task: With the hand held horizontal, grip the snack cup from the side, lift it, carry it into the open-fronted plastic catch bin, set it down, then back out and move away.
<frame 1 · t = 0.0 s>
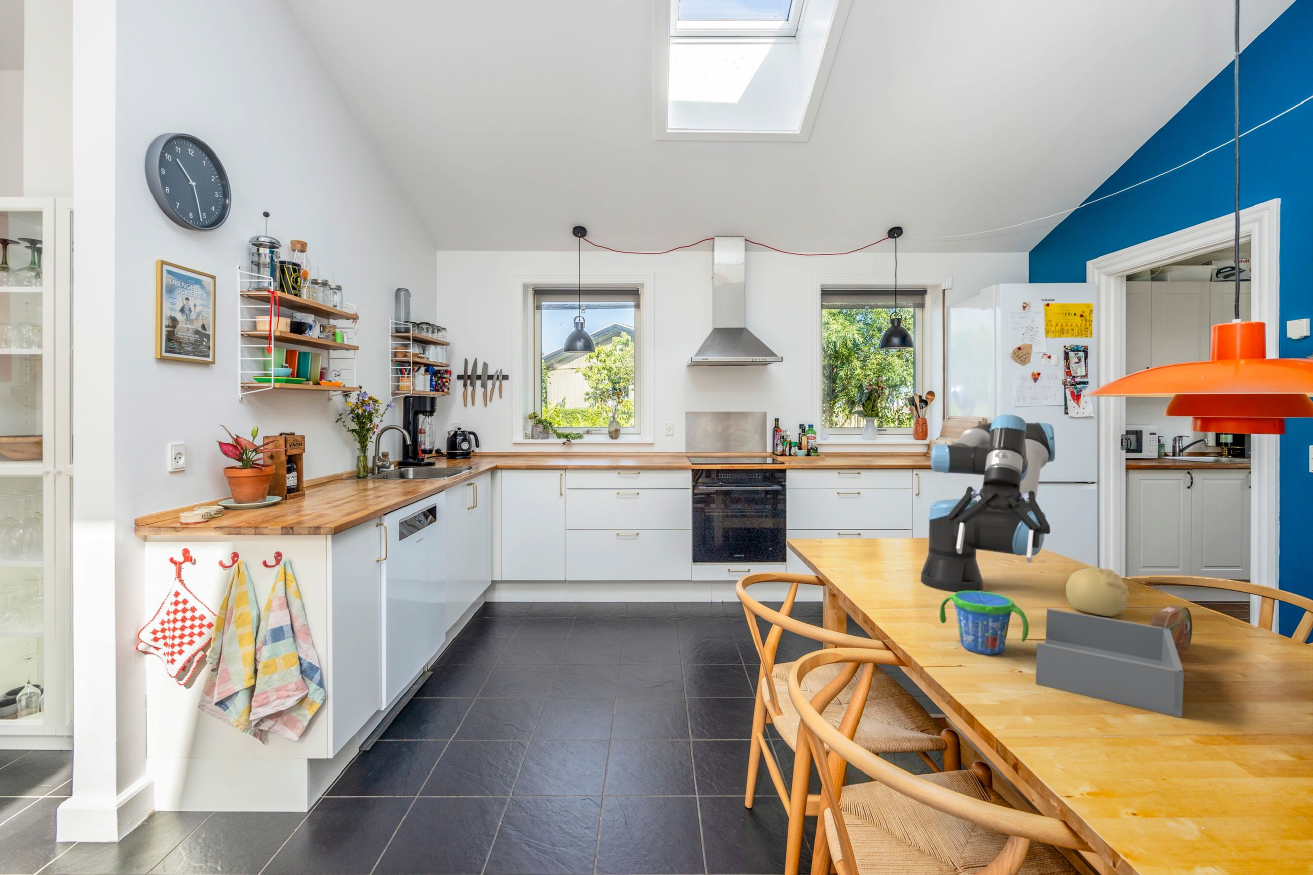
hand: (992, 555, 132), 15 cm above the table, tool tilted 35°, fingers open, 13 cm apart
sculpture: (1095, 613, 142), on the table
snack cup: (981, 649, 119), on the table
tin: (1170, 652, 119), on the table
catch bin: (1107, 675, 107), on the table
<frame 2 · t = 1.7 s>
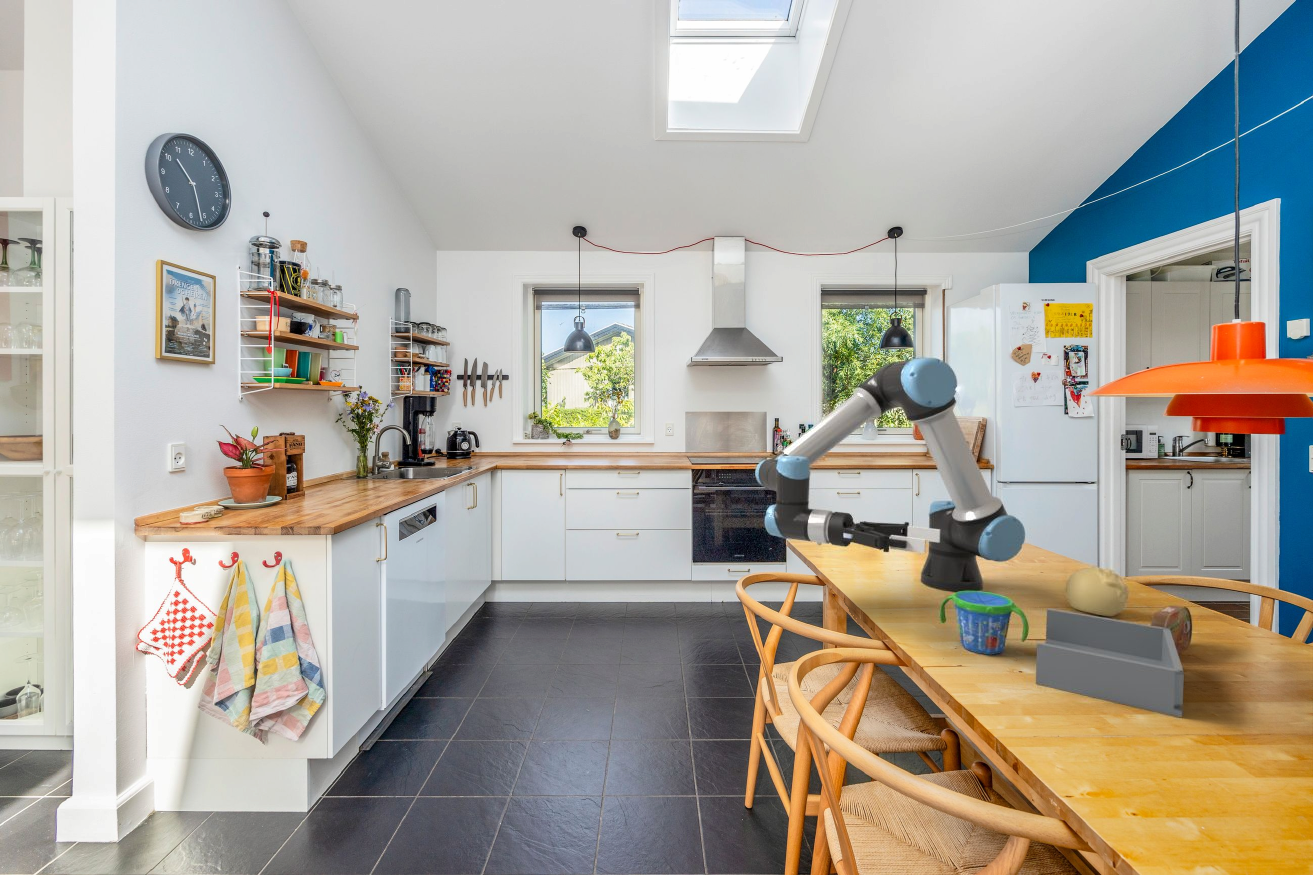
hand: (933, 541, 124), 20 cm above the table, tool horizontal, fingers open, 13 cm apart
nothing on the table moved.
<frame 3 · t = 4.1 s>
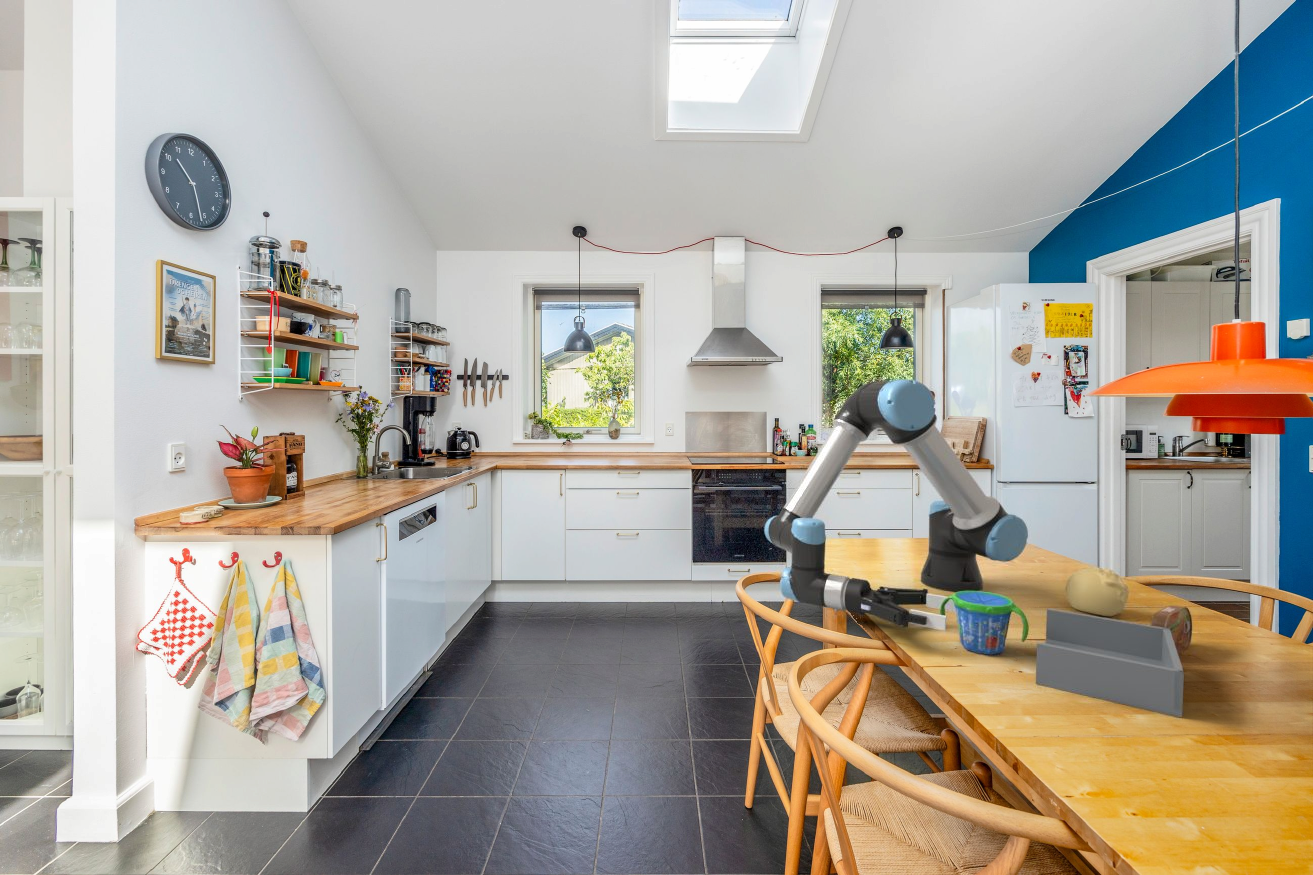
hand: (953, 614, 121), 6 cm above the table, tool horizontal, fingers open, 13 cm apart
nothing on the table moved.
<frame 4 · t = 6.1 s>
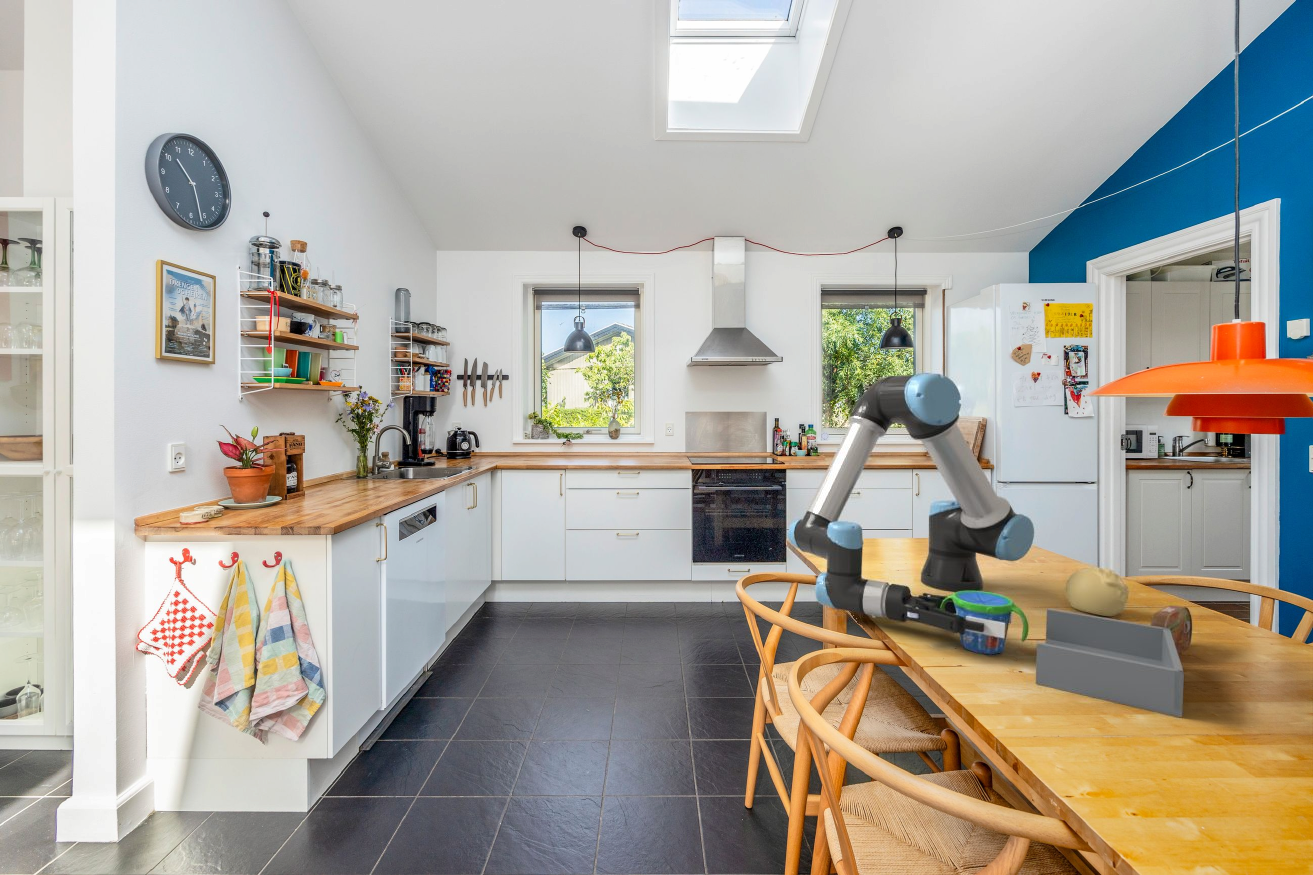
hand: (1008, 623, 116), 6 cm above the table, tool horizontal, fingers closed on snack cup, 9 cm apart
snack cup: (981, 649, 119), on the table, touching gripper
everything else where it was.
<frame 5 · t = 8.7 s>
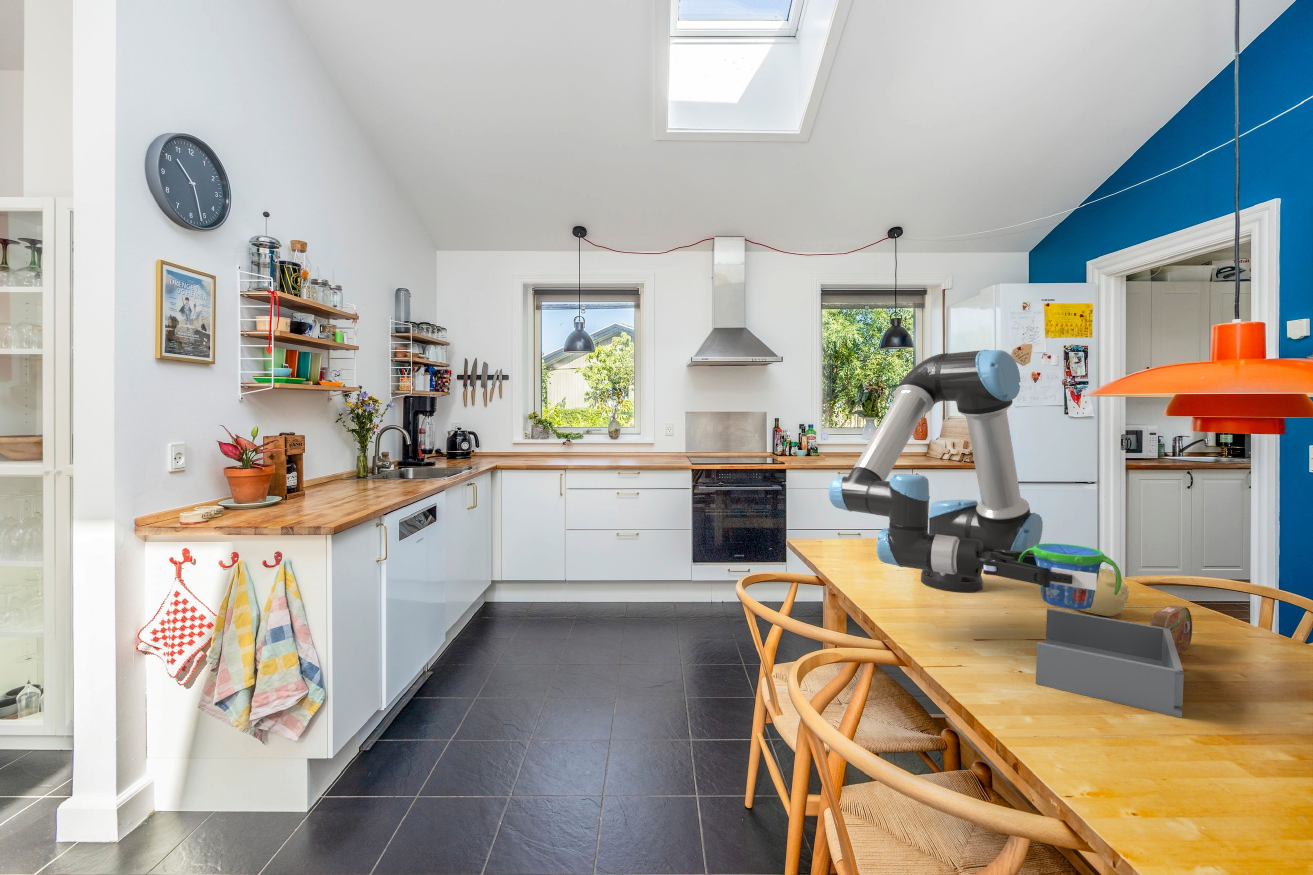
hand: (1097, 575, 106), 18 cm above the table, tool horizontal, fingers closed on snack cup, 9 cm apart
snack cup: (1065, 605, 109), point 12 cm above the table, touching gripper
everything else where it was.
when the fingers open (8 cm above the table, at t = 11.4 s): snack cup drops 1 cm, resting on catch bin.
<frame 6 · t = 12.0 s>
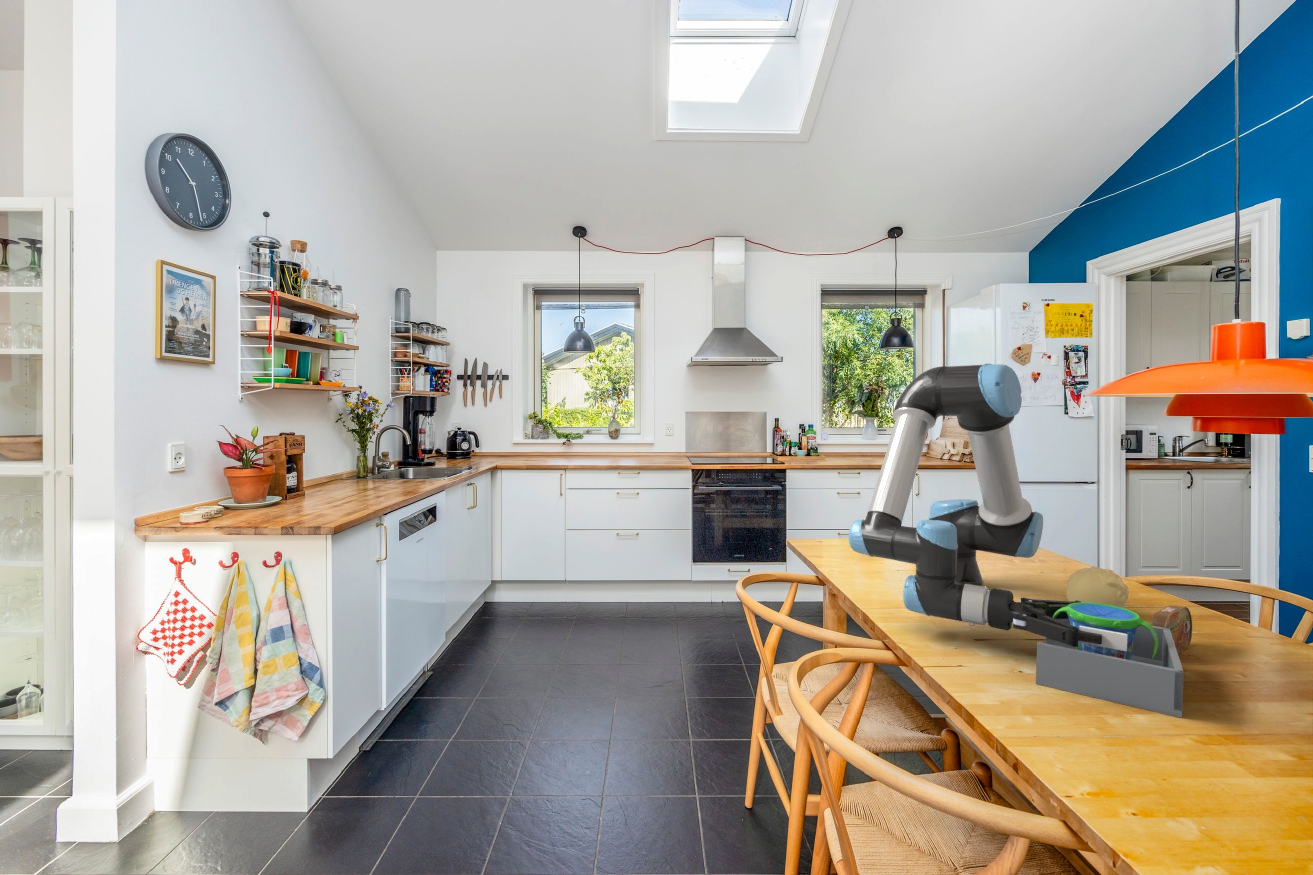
hand: (1126, 631, 105), 8 cm above the table, tool horizontal, fingers open, 13 cm apart
snack cup: (1101, 667, 108), point 1 cm above the table, touching catch bin
everything else where it was.
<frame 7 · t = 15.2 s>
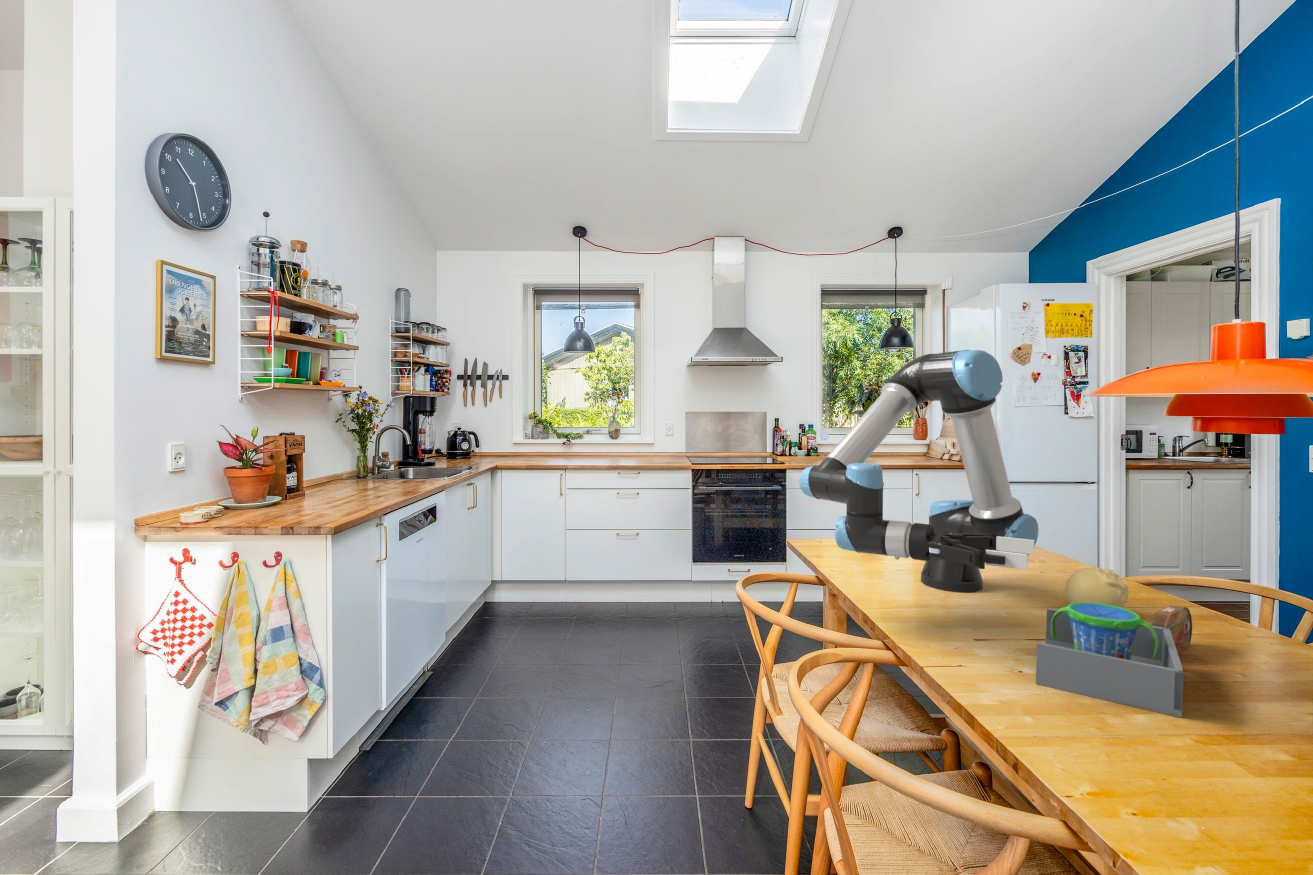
hand: (1031, 554, 113), 20 cm above the table, tool horizontal, fingers open, 13 cm apart
nothing on the table moved.
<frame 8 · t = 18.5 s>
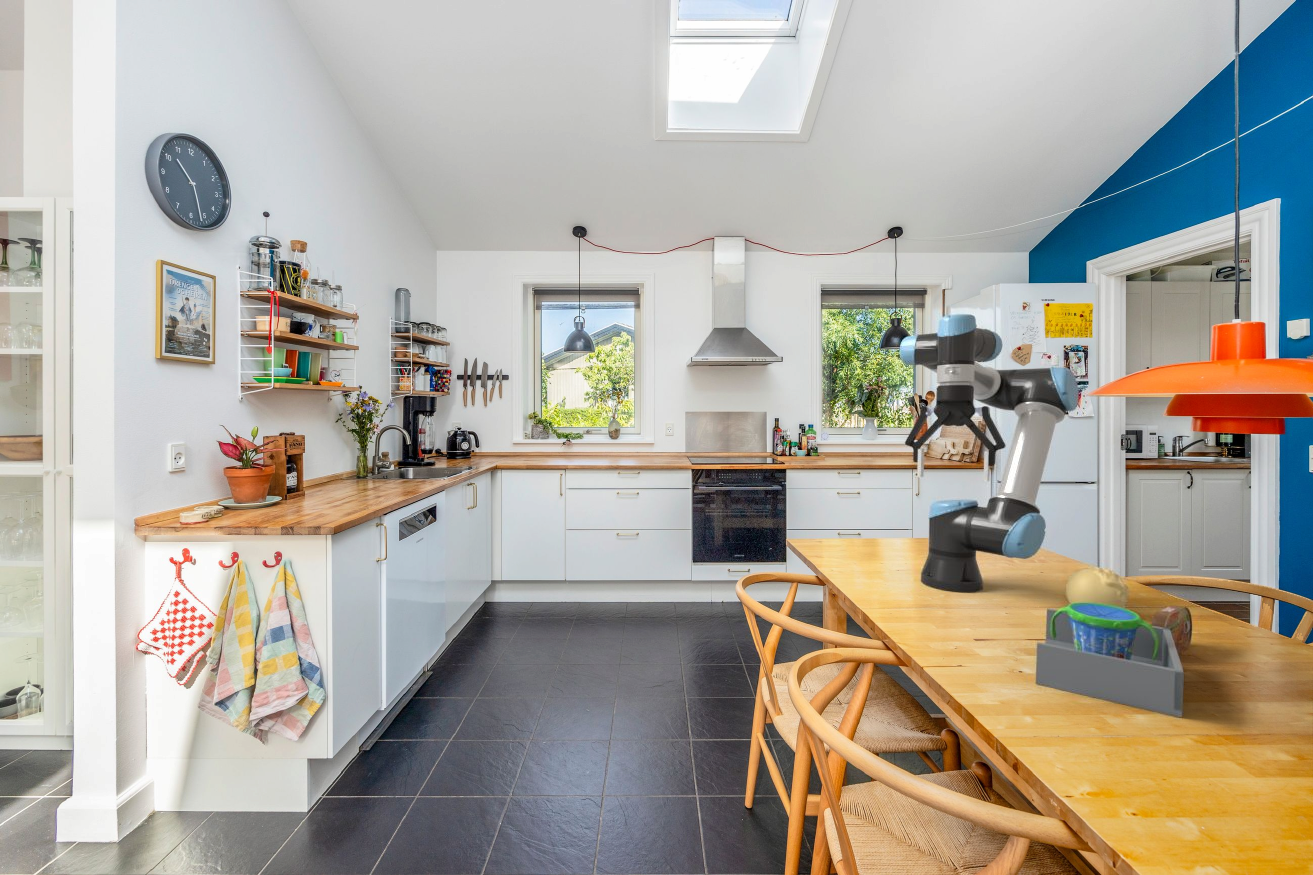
hand: (952, 479, 136), 32 cm above the table, tool pointing down, fingers open, 13 cm apart
nothing on the table moved.
at the end: snack cup inside the target area on the catch bin (1.1 cm from its centre), point 0.8 cm above the catch bin's base; snack cup tilted 0°; the gripper is holding nothing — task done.
